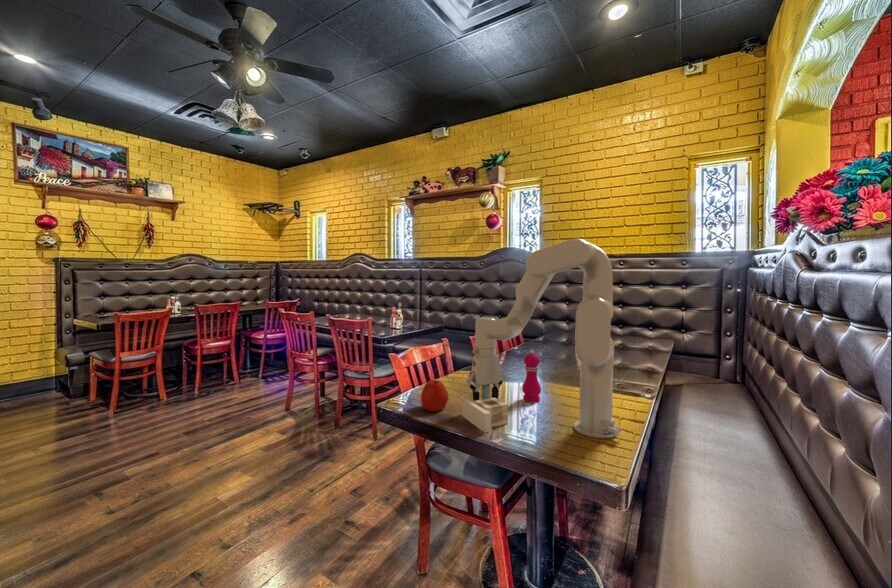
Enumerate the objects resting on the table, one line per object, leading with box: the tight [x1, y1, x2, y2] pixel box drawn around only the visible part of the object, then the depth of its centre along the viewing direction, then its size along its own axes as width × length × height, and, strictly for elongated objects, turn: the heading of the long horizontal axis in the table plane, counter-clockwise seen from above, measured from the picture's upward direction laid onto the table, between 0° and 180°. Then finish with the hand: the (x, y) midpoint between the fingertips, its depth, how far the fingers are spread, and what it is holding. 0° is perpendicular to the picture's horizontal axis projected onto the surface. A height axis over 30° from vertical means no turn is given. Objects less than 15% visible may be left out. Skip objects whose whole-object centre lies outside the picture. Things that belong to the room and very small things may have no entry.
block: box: [473, 397, 509, 428], centre depth 124 cm, size 8×8×6 cm
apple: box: [420, 379, 449, 412], centre depth 137 cm, size 10×10×10 cm
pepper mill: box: [521, 349, 542, 404], centre depth 146 cm, size 7×7×20 cm
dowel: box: [481, 384, 491, 400], centre depth 135 cm, size 3×3×10 cm
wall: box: [461, 397, 492, 434], centre depth 123 cm, size 16×2×6 cm, turn 25°
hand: (485, 400), depth 135 cm, fingers open, 7 cm apart
